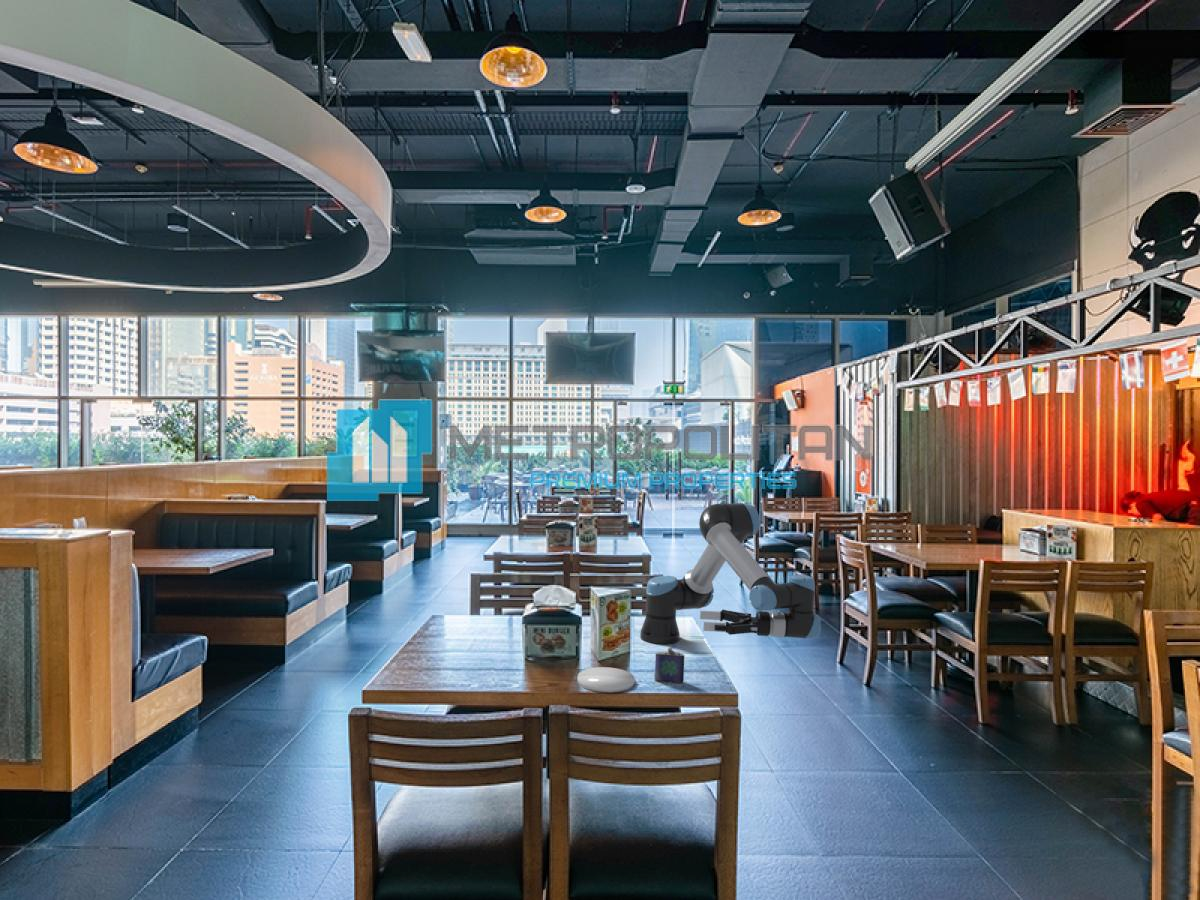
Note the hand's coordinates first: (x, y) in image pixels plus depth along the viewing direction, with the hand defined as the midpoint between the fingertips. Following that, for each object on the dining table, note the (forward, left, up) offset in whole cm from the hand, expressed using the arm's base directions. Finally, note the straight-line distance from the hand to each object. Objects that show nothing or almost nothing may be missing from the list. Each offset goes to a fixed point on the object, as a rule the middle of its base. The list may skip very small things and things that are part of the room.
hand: (701, 620), depth 220 cm
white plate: (+4, -30, -20) cm, 36 cm away
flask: (0, -10, -20) cm, 23 cm away
